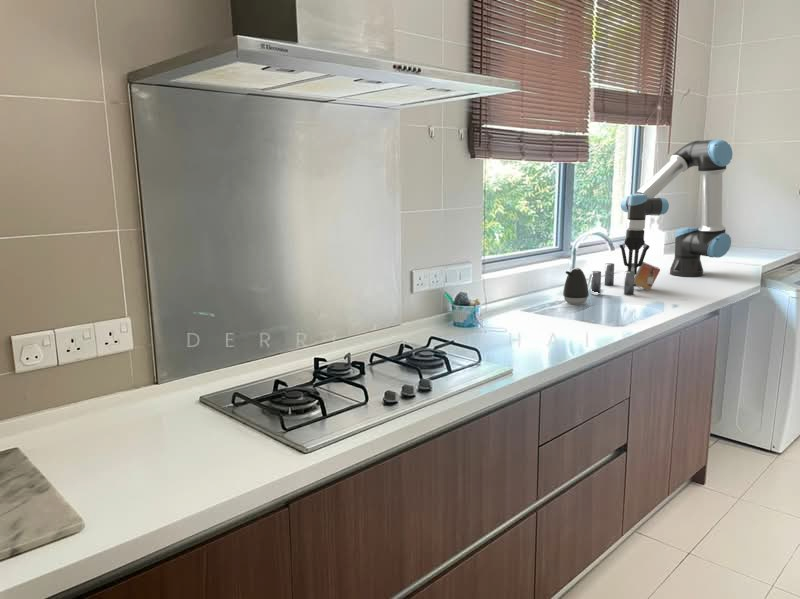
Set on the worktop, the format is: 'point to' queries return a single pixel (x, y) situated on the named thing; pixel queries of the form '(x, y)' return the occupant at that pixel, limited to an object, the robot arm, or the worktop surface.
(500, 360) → the worktop surface
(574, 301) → the pump dispenser
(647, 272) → the small box
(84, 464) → the worktop surface
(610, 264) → the spacer field
